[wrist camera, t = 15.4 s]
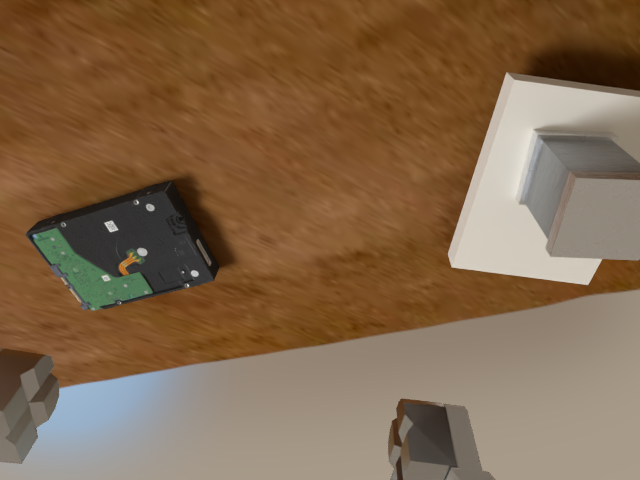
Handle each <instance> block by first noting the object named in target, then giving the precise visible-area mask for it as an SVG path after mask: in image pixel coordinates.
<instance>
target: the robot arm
mask: <svg viewBox="0 0 640 480" xmlns="http://www.w3.org/2000/svg"><path fill="white" fill-rule="evenodd" d="M53 367H54V363H53V360H52V357H51V356H49V355H43V354H36V353H30V352H23V351H16V350H10V349H3V348H0V462H7V463H19V464H22V462H23V461H24V459H25V457H26V456H27V454H28V453H29V451H30V449H31V448H32V446H33V444H34V443H35V441H36V439H37V437H38V436H37V429H36V428H37V427H38V426H40V425H41V424H43V423H44V422H46V421H47V420H49V418H50V416H51V415H52V413H53V411H54V409H55V407H56V404H57V400H58V397H59V383H58V379H57V378H56V377H55V376H53V375H52V374H51V373H50V372H51V370H52V369H53ZM396 411H397V418H396V419H394V420H393V421H392V424H391V427H390V432H389V440H388V455H389V462H390V464H391V465H392V466H393V468H394V470H393V473H392V476H391V479H390V480H495V479H494V477H493V476H492V475H491V474H490V473H489V472H486V471H482V468H481V464H480V460H479V456H478V452H477V448H476V444H475V439H474V435H473V432H472V428H471V424H470V420H469V416H468V411H467V409H466V408H465V407H464V406H457V405H449V404H442V403H436V402H428V401H419V400H410V399H400V401H399V402H398V405H397V408H396Z"/></svg>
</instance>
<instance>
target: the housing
mask: <svg viewBox="0 0 640 480" xmlns="http://www.w3.org/2000/svg"><path fill="white" fill-rule="evenodd" d="M618 138H619V137H618V136H617V135H615V134H614V133H613V132H595V131H563V130H533V132H532V136H531V140H530V143H529V147H528V151H527V155H526V159H525V163H524V167H523V170H522V174H521V178H520V182H519V186H518V190H517V193H516V197H515V199H516V201H517V202H518V204H519V205H526V206H527V207H528V209H529V210H530V212H531V214H532V215H533V217H534V218H535V220H536V222H537V223H538V225H539V226H540V228H541V229H542V231H543V233H544V234H545V236H546V237H547V239H548V241H547V244H546V247H545V249H546V250H547V252H548V254H549V255H550V257H568V258H593V259H618V260H639V259H640V163H639V162H638V161H636V160H635V159H634V158H633V157H632V156H630V155H629V154H628V153H627V152H626V151H624V150H623V149H622V148H621V147H620V146H618V145H617V141H618Z"/></svg>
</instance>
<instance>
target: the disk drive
mask: <svg viewBox="0 0 640 480" xmlns="http://www.w3.org/2000/svg"><path fill="white" fill-rule="evenodd" d="M26 236H27V238H28V239H29V240H30V241H31V243H32V244H33V245H34V247H35V248H36V249H37V250H38V252H39V253H40V254H41V256H42V257H43V258H44V260H45V261H46V262H47V263H48V265H50V268H51V270H52V271H53V272H54V273H55V275H56V276H57V277H61V279H62V280H63V282H64V283H65V284H66V286H70V287H68V289H69V290H70V291H71V292H72V293H73V295H74V296H75V297H76V298H77V300H78V301H79V302H82V305H81V306H80V307H81V308H83V309H84V310H86V309H91V310H92V311H94V310H98V309H101V308H102V309H108V308H112V307H114V306H118V305H122V304H126V303H129V302H134V301H138V300H142V299H145V298H150V297H154V296H157V295H161V294H165V293H169V292H173V291H176V290H181V289H185V288H189V287H194V286H198V285H202V284H204V283H208V282H211V281H214V279H215V277H216V274H217V271H218V269H219V266H218V264H217V262H216V260H215V259H214V257H213V255H212V253H211V251H210V249H209V248H208V246H207V244H206V242H205V240H204V238H203V236H202V235H201V233H200V231H199V229H198V227H197V226H196V224H195V222H194V220H193V218H192V216H191V215H190V213H189V211H188V209H187V207H186V205H185V204H184V202H183V200H182V198H181V197H180V195H179V193H178V192H177V189H176V188H175V186H174V184H173V182H172V181H167V182H164V183H161V184H156V185H152V186H149V187H146V188H144V189H142V190H139V191H135V192H133V193H130V194H126V195H123V196H120V197H117V198H114V199H110V200H107V201H104V202H101V203H98V204H94V205H91V206H88V207H85V208H82V209H78V210H75V211H72V212H68V213H65V214H59V215H57V216H54V217H52V218H49V219H45V220H42V221H39V222H37V223H36V224H35V225H34V226H33V227H32V228H31V229H30V230H29V231H28V232H27V233H26Z"/></svg>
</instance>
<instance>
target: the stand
mask: <svg viewBox="0 0 640 480" xmlns="http://www.w3.org/2000/svg"><path fill="white" fill-rule="evenodd" d="M533 130H563V131H595V132H613V133H614V134H615V135H617V136H618V137H619V138H618V141H617V145H618V146H620V147H621V148H622V149H623V150H624V151H626V152H627V153H628V154H629V155H630V156H632V157H633V158H634V159H635V160H636V161H638V162H639V163H640V91H636V90H629V89H622V88H615V87H608V86H601V85H594V84H586V83H579V82H572V81H565V80H558V79H551V78H544V77H536V76H529V75H522V74H515V73H508V72H506V75H505V79H504V82H503V85H502V88H501V91H500V94H499V97H498V100H497V103H496V106H495V110H494V113H493V116H492V119H491V122H490V125H489V128H488V131H487V134H486V137H485V141H484V144H483V147H482V150H481V153H480V156H479V159H478V162H477V165H476V168H475V172H474V175H473V178H472V181H471V184H470V187H469V190H468V193H467V196H466V199H465V202H464V206H463V209H462V212H461V215H460V218H459V221H458V224H457V227H456V230H455V233H454V237H453V240H452V243H451V246H450V249H449V252H448V256H449V260H450V263H451V266H452V267H454V268H462V269H469V270H477V271H485V272H492V273H500V274H508V275H516V276H523V277H531V278H539V279H546V280H554V281H562V282H569V283H577V284H585V285H588V284H589V282H590V281H591V279H592V277H593V275H594V273H595V271H596V269H597V268H598V266H599V264H600V262H601V260H602V259H593V258H568V257H550V255H549V254H548V252H547V250H546V249H545V247H546V244H547V241H548V239H547V237H546V236H545V234H544V233H543V231H542V229H541V228H540V226H539V225H538V223H537V222H536V220H535V218H534V217H533V215H532V214H531V212H530V210H529V209H528V207H527V206H526V205H519V204H518V202H517V201H516V199H515V197H516V193H517V190H518V186H519V182H520V178H521V174H522V170H523V167H524V163H525V159H526V155H527V151H528V147H529V143H530V140H531V136H532V132H533Z"/></svg>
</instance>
